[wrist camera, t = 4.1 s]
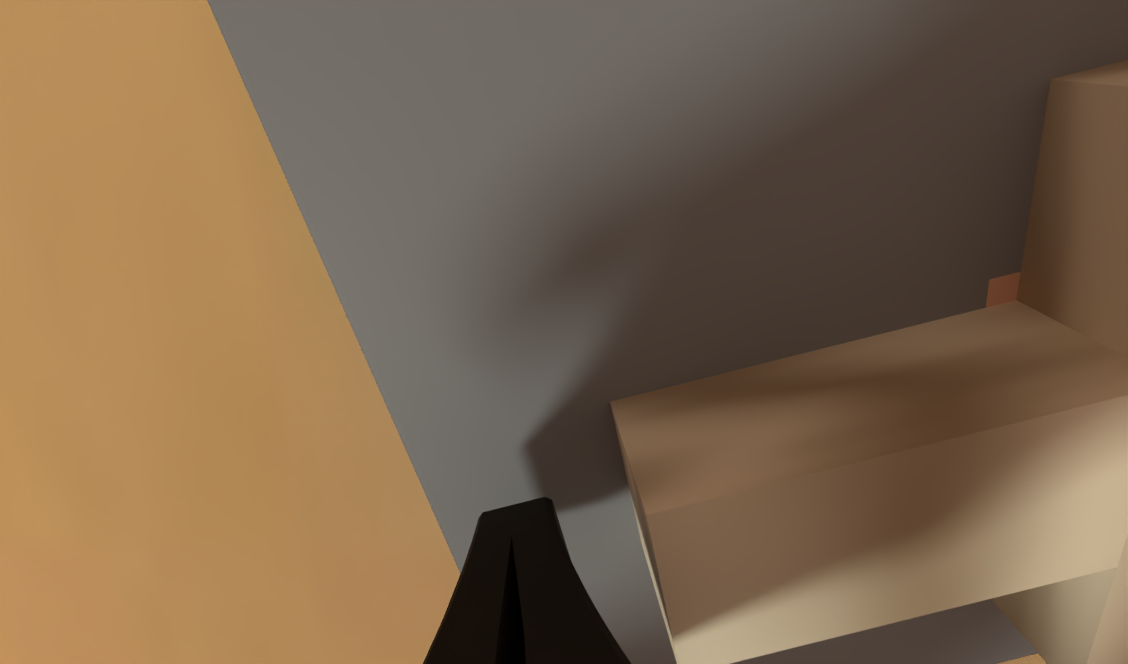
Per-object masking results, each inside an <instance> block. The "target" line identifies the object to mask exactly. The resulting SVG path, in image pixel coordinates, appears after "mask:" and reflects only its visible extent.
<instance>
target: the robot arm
mask: <svg viewBox="0 0 1128 664" xmlns="http://www.w3.org/2000/svg"><path fill="white" fill-rule="evenodd" d="M423 664H631V662H630V661H629V659H628V658H627V656H626V655H625V653H624V652H623V650H622V649H621V647H620V646H619V644H618V643H617V641H616V640H615V638H614V637H613V635H612V633H611V632H610V630H609V629H608V627H607V626H606V624H605V622H604V620H603V619H602V617H601V615H600V614H599V612H598V610H597V609H596V607H595V605H594V604H593V602H592V600H591V598H590V596H589V595H588V593H587V591H586V589H585V587H584V585H583V583H582V581H581V579H580V577H579V575H578V573H577V571H576V570H575V568H574V566H573V564H572V561H571V558H570V555H569V552H568V549H567V546H566V542H565V539H564V536H563V533H562V530H561V527H560V523H559V520H558V517H557V514H556V511H555V507H554V504H553V501H552V500H551V499H549V498H547V497H541V498H537V499H534V500H530V501H526V502H522V503H518V504H514V505H510V506H506V507H502V508H498V509H494V510H490V511H486V512H482V514H481V515H480V517H479V518H478V522H477V525H476V529H475V532H474V535H473V539H472V542H471V545H470V548H469V551H468V554H467V557H466V560H465V563H464V566H463V568H462V571H461V574H460V577H459V580H458V582H457V585H456V587H455V590H454V592H453V595H452V597H451V600H450V603H449V605H448V608H447V610H446V613H445V615H444V618H443V620H442V622H441V625H440V627H439V629H438V631H437V634H436V636H435V638H434V640H433V643H432V645H431V647H430V649H429V651H428V654H427V656H426V658H425V660H424V662H423Z"/></svg>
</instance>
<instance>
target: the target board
mask: <svg viewBox="0 0 1128 664" xmlns="http://www.w3.org/2000/svg"><path fill="white" fill-rule="evenodd" d="M207 1H208V3H209V5H210V7H211V10H212V12H213V14H214V17H215V19H216V21H217V23H218V26H219V28H220V30H221V32H222V35H223V37H224V39H225V41H226V44H227V46H228V48H229V50H230V53H231V55H232V57H233V60H234V62H235V64H236V66H237V69H238V71H239V73H240V75H241V78H242V80H243V82H244V84H245V87H246V89H247V91H248V93H249V96H250V98H251V100H252V103H253V105H254V107H255V109H256V112H257V114H258V116H259V118H260V121H261V123H262V125H263V127H264V130H265V132H266V134H267V136H268V139H269V141H270V143H271V146H272V148H273V150H274V152H275V155H276V157H277V159H278V161H279V164H280V166H281V168H282V170H283V173H284V175H285V177H286V179H287V182H288V184H289V186H290V189H291V191H292V193H293V195H294V198H295V200H296V202H297V204H298V207H299V209H300V211H301V213H302V216H303V218H304V220H305V222H306V225H307V227H308V229H309V232H310V234H311V236H312V238H313V241H314V243H315V245H316V247H317V250H318V252H319V254H320V256H321V259H322V261H323V263H324V265H325V268H326V270H327V272H328V274H329V277H330V279H331V281H332V284H333V286H334V288H335V290H336V293H337V295H338V297H339V299H340V302H341V304H342V306H343V308H344V311H345V313H346V315H347V317H348V320H349V322H350V324H351V327H352V329H353V331H354V333H355V336H356V338H357V340H358V342H359V345H360V347H361V349H362V351H363V354H364V356H365V358H366V360H367V363H368V365H369V367H370V370H371V372H372V374H373V376H374V379H375V381H376V383H377V385H378V388H379V390H380V392H381V394H382V397H383V399H384V401H385V403H386V406H387V408H388V410H389V413H390V415H391V417H392V419H393V422H394V424H395V426H396V428H397V431H398V433H399V435H400V437H401V440H402V442H403V444H404V446H405V449H406V451H407V453H408V456H409V458H410V460H411V462H412V465H413V467H414V469H415V471H416V474H417V476H418V478H419V480H420V483H421V485H422V487H423V489H424V492H425V494H426V496H427V499H428V501H429V503H430V505H431V508H432V510H433V512H434V514H435V517H436V519H437V521H438V523H439V526H440V528H441V530H442V532H443V535H444V537H445V539H446V542H447V544H448V546H449V548H450V551H451V553H452V555H453V557H454V560H455V562H456V564H457V566H458V569H459V571H460V573H461V571H462V568H463V566H464V563H465V560H466V557H467V554H468V551H469V548H470V545H471V542H472V539H473V535H474V532H475V529H476V525H477V522H478V518H479V517H480V515H481V514H482V512H486V511H490V510H494V509H498V508H502V507H506V506H510V505H514V504H518V503H522V502H526V501H530V500H534V499H537V498H541V497H547V498H549V499H551V500H552V501H553V504H554V507H555V511H556V514H557V517H558V520H559V523H560V527H561V530H562V533H563V536H564V539H565V542H566V546H567V549H568V552H569V555H570V558H571V561H572V564H573V566H574V568H575V570H576V571H577V573H578V575H579V577H580V579H581V581H582V583H583V585H584V587H585V589H586V591H587V593H588V595H589V596H590V598H591V600H592V602H593V604H594V605H595V607H596V609H597V610H598V612H599V614H600V615H601V617H602V619H603V620H604V622H605V624H606V626H607V627H608V629H609V630H610V632H611V633H612V635H613V637H614V638H615V640H616V641H617V643H618V644H619V646H620V647H621V649H622V650H623V652H624V653H625V655H626V656H627V658H628V659H629V661H630V662H631V664H677V663H676V659H675V656H674V652H673V649H672V646H671V642H670V639H669V635H668V632H667V629H666V625H665V622H664V618H663V615H662V612H661V608H660V605H659V601H658V598H657V595H656V591H655V588H654V585H653V581H652V578H651V574H650V571H649V568H648V564H647V561H646V557H645V554H644V551H643V547H642V543H641V539H640V534H639V530H638V525H637V521H636V516H635V512H634V507H633V503H632V498H631V494H630V489H629V485H628V481H627V476H626V472H625V467H624V463H623V458H622V454H621V449H620V445H619V440H618V436H617V431H616V427H615V422H614V418H613V414H612V409H611V405H610V402H611V401H615V400H619V399H623V398H627V397H631V396H635V395H639V394H643V393H647V392H651V391H655V390H659V389H663V388H667V387H671V386H675V385H679V384H683V383H687V382H691V381H695V380H699V379H703V378H707V377H711V376H715V375H719V374H723V373H727V372H731V371H735V370H739V369H743V368H747V367H751V366H755V365H759V364H763V363H767V362H771V361H775V360H779V359H783V358H787V357H791V356H795V355H799V354H803V353H807V352H811V351H815V350H819V349H823V348H827V347H831V346H835V345H839V344H843V343H847V342H851V341H855V340H859V339H863V338H867V337H871V336H875V335H879V334H883V333H887V332H891V331H895V330H899V329H903V328H907V327H911V326H915V325H919V324H923V323H927V322H931V321H935V320H939V319H943V318H947V317H951V316H955V315H959V314H963V313H967V312H971V311H975V310H979V309H983V308H987V307H991V306H995V305H999V304H1003V303H1007V302H1011V301H1015V300H1016V299H1017V293H1018V286H1019V280H1020V273H1021V267H1022V260H1023V254H1024V247H1025V241H1026V234H1027V228H1028V221H1029V215H1030V208H1031V202H1032V195H1033V189H1034V182H1035V176H1036V169H1037V163H1038V156H1039V150H1040V143H1041V137H1042V130H1043V124H1044V117H1045V111H1046V104H1047V98H1048V91H1049V85H1050V79H1053V78H1057V77H1061V76H1065V75H1069V74H1073V73H1077V72H1081V71H1085V70H1089V69H1093V68H1097V67H1101V66H1105V65H1109V64H1113V63H1117V62H1121V61H1125V60H1128V0H207ZM1037 653H1038V652H1037V651H1036V650H1035V649H1034V648H1033V647H1032V646H1031V644H1030V643H1029V642H1028V641H1027V640H1026V639H1025V638H1024V636H1023V635H1022V634H1021V633H1020V632H1019V631H1018V630H1017V628H1016V627H1015V626H1014V625H1013V624H1012V623H1011V622H1010V620H1009V619H1008V618H1007V617H1006V616H1005V615H1004V614H1003V612H1002V611H1001V610H1000V609H999V608H998V607H997V606H996V604H995V603H994V602H993V601H992V600H991V599H988V600H984V601H980V602H975V603H971V604H967V605H963V606H959V607H955V608H951V609H947V610H943V611H939V612H935V613H931V614H927V615H923V616H919V617H915V618H911V619H907V620H903V621H899V622H895V623H891V624H887V625H883V626H879V627H875V628H871V629H867V630H863V631H859V632H855V633H851V634H847V635H843V636H839V637H835V638H831V639H827V640H823V641H819V642H815V643H811V644H807V645H803V646H799V647H795V648H791V649H786V650H782V651H778V652H774V653H770V654H766V655H762V656H758V657H754V658H750V659H746V660H742V661H738V662H734V663H730V664H996V663H1000V662H1004V661H1008V660H1013V659H1017V658H1021V657H1025V656H1029V655H1033V654H1037Z"/></svg>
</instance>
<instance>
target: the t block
mask: <svg viewBox="0 0 1128 664" xmlns="http://www.w3.org/2000/svg"><path fill="white" fill-rule="evenodd" d="M610 405H611V409H612V414H613V418H614V422H615V427H616V431H617V436H618V440H619V445H620V449H621V454H622V458H623V463H624V467H625V472H626V476H627V481H628V485H629V489H630V494H631V498H632V503H633V507H634V512H635V516H636V521H637V525H638V530H639V534H640V539H641V543H642V547H643V551H644V554H645V557H646V561H647V564H648V568H649V571H650V574H651V578H652V581H653V585H654V588H655V591H656V595H657V598H658V601H659V605H660V608H661V612H662V615H663V618H664V622H665V625H666V629H667V632H668V635H669V639H670V642H671V646H672V649H673V652H674V656H675V659H676V663H677V664H730V663H734V662H738V661H742V660H746V659H750V658H754V657H758V656H762V655H766V654H770V653H774V652H778V651H782V650H786V649H791V648H795V647H799V646H803V645H807V644H811V643H815V642H819V641H823V640H827V639H831V638H835V637H839V636H843V635H847V634H851V633H855V632H859V631H863V630H867V629H871V628H875V627H879V626H883V625H887V624H891V623H895V622H899V621H903V620H907V619H911V618H915V617H919V616H923V615H927V614H931V613H935V612H939V611H943V610H947V609H951V608H955V607H959V606H963V605H967V604H971V603H975V602H980V601H984V600H988V599H991V600H992V601H993V602H994V603H995V604H996V606H997V607H998V608H999V609H1000V610H1001V611H1002V612H1003V614H1004V615H1005V616H1006V617H1007V618H1008V619H1009V620H1010V622H1011V623H1012V624H1013V625H1014V626H1015V627H1016V628H1017V630H1018V631H1019V632H1020V633H1021V634H1022V635H1023V636H1024V638H1025V639H1026V640H1027V641H1028V642H1029V643H1030V644H1031V646H1032V647H1033V648H1034V649H1035V650H1036V651H1037V652H1038V654H1039V655H1040V656H1041V657H1042V658H1043V659H1044V660H1045V662H1046V663H1047V664H1128V60H1125V61H1121V62H1117V63H1113V64H1109V65H1105V66H1101V67H1097V68H1093V69H1089V70H1085V71H1081V72H1077V73H1073V74H1069V75H1065V76H1061V77H1057V78H1053V79H1050V85H1049V91H1048V98H1047V104H1046V111H1045V117H1044V124H1043V130H1042V137H1041V143H1040V150H1039V156H1038V163H1037V169H1036V176H1035V182H1034V189H1033V195H1032V202H1031V208H1030V215H1029V221H1028V228H1027V234H1026V241H1025V247H1024V254H1023V260H1022V267H1021V273H1020V280H1019V286H1018V293H1017V299H1016V300H1015V301H1011V302H1007V303H1003V304H999V305H995V306H991V307H987V308H983V309H979V310H975V311H971V312H967V313H963V314H959V315H955V316H951V317H947V318H943V319H939V320H935V321H931V322H927V323H923V324H919V325H915V326H911V327H907V328H903V329H899V330H895V331H891V332H887V333H883V334H879V335H875V336H871V337H867V338H863V339H859V340H855V341H851V342H847V343H843V344H839V345H835V346H831V347H827V348H823V349H819V350H815V351H811V352H807V353H803V354H799V355H795V356H791V357H787V358H783V359H779V360H775V361H771V362H767V363H763V364H759V365H755V366H751V367H747V368H743V369H739V370H735V371H731V372H727V373H723V374H719V375H715V376H711V377H707V378H703V379H699V380H695V381H691V382H687V383H683V384H679V385H675V386H671V387H667V388H663V389H659V390H655V391H651V392H647V393H643V394H639V395H635V396H631V397H627V398H623V399H619V400H615V401H611V402H610Z"/></svg>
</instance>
